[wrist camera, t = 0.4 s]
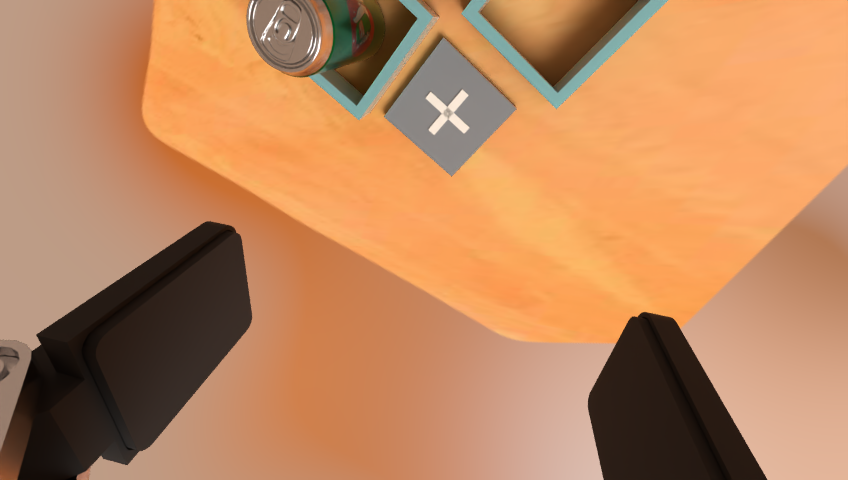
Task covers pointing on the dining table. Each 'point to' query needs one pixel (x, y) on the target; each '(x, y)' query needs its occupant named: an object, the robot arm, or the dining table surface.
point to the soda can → (314, 33)
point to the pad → (449, 108)
